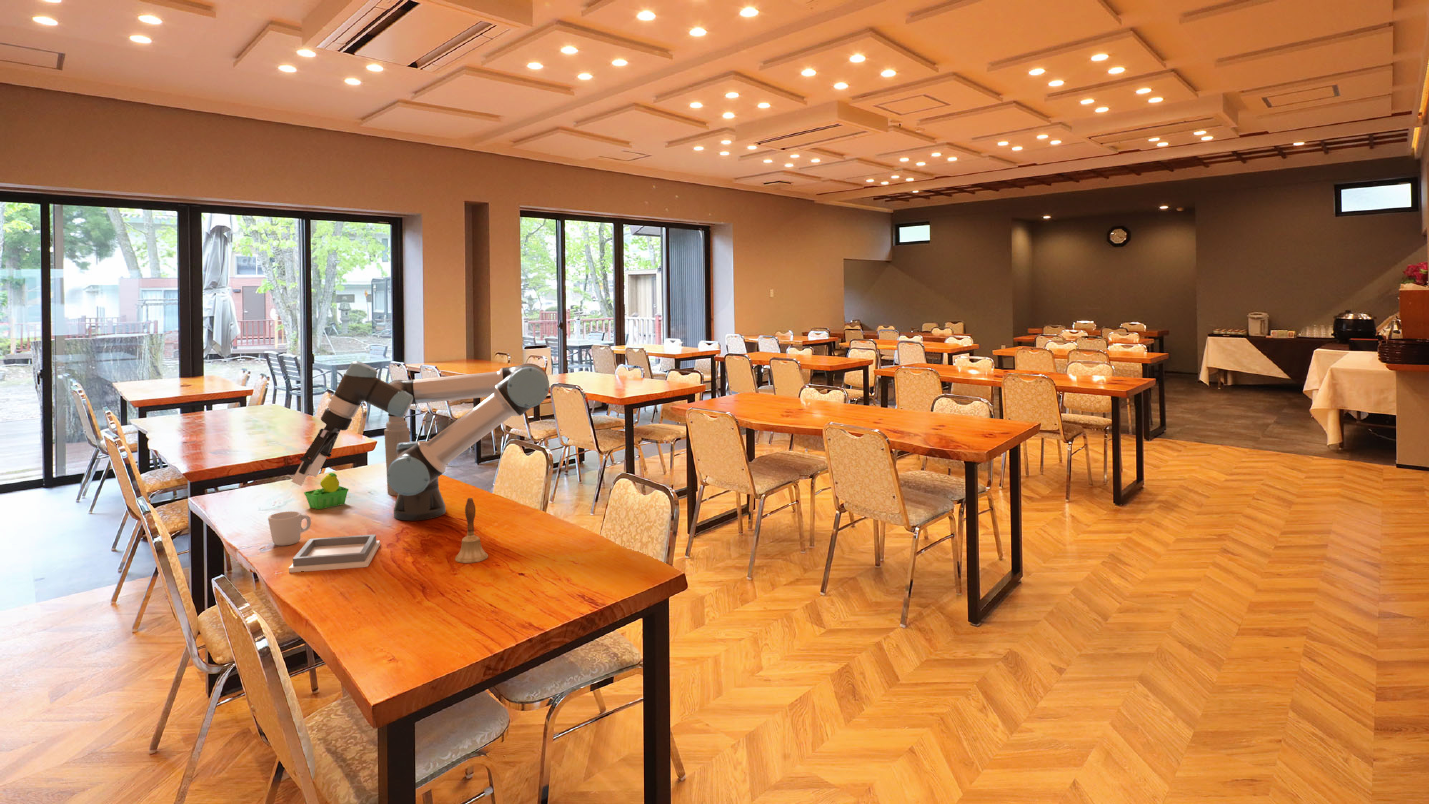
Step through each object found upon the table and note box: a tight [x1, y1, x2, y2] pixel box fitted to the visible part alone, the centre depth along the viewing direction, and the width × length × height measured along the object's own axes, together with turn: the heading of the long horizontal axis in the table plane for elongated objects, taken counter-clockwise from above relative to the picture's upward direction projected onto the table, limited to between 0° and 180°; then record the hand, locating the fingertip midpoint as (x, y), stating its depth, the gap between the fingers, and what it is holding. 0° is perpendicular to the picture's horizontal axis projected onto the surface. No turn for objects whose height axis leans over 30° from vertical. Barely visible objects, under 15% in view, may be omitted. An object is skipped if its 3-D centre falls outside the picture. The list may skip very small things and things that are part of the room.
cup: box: [267, 510, 312, 547], centre depth 213 cm, size 11×8×8 cm
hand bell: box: [454, 497, 489, 564], centre depth 200 cm, size 8×8×16 cm
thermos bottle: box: [383, 412, 411, 496], centre depth 266 cm, size 8×8×28 cm
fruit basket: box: [303, 472, 350, 510], centre depth 249 cm, size 11×9×11 cm
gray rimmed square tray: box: [288, 533, 381, 573], centre depth 201 cm, size 18×18×3 cm
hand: (304, 479), depth 219 cm, fingers open, 13 cm apart
